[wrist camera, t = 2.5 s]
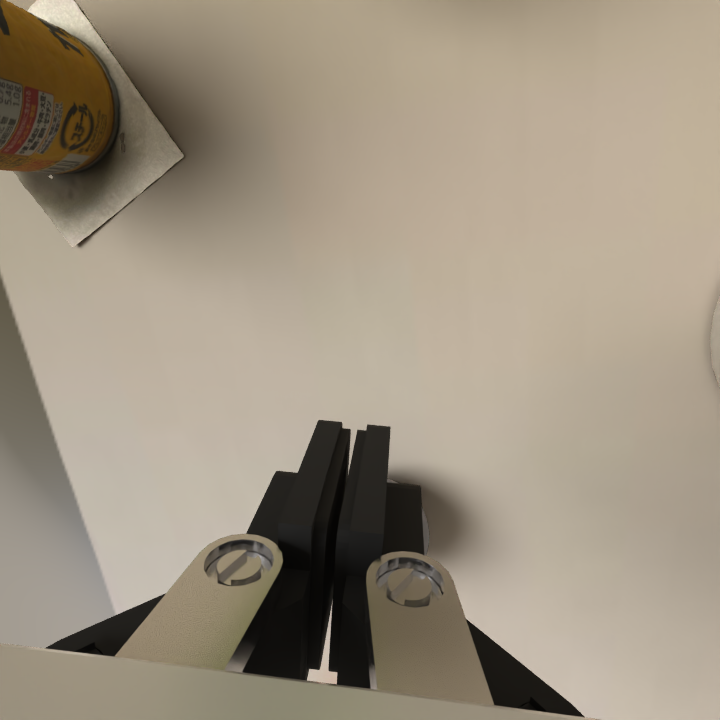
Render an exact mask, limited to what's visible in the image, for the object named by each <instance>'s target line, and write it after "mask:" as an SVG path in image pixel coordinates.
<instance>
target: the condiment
mask: <svg viewBox="0 0 720 720" xmlns="http://www.w3.org/2000/svg"><path fill="white" fill-rule="evenodd" d="M122 133H124V134H125V136H124V141H123V142H124V143H125V150H126V151H125V152H124V153H123V152H122V151H121V143H122V141H121V140H120V134H122ZM183 157H184V155H183V154H182V152H181V151H180V150H179V148H178V147H177V145H176V144H175V143H174V142H173V140H172V139H171V137H170V136H169V134H168V133H167V131H166V130H165V128H164V127H163V126H162V124H161V123H160V122H159V121H158V119H157V118H156V117H155V115H154V114H153V112H152V111H151V109H150V108H149V106H148V105H147V103H146V102H145V101H144V99H143V98H142V97H141V95H140V94H139V92H138V91H137V89H136V88H135V86H134V85H133V84H132V82H131V81H130V79H129V78H128V76H127V75H126V73H125V72H124V70H123V69H122V67H121V66H120V64H119V63H118V62H117V60H116V59H115V57H114V56H113V55H112V53H111V52H110V50H109V49H108V48H107V46H106V45H105V44H104V42H103V41H102V39H101V38H100V36H99V35H98V34H97V32H96V31H95V29H94V28H93V26H92V25H91V24H90V22H89V21H88V19H87V18H86V17H85V15H84V14H83V13H82V12H81V10H80V9H79V7H78V5H77V4H76V3H75V1H74V0H37V1H36V2H35V3H34V4H33V5H31V7H30V8H29V10H28V11H25V10H24V9H23V8H19V7H17V6H15V5H14V4H12V3H10V2H7V1H6V0H0V170H7V171H13V172H14V173H15V174H16V175H17V176H18V178H19V180H20V181H21V183H22V184H23V186H24V187H25V188H26V189H27V190H28V191H29V192H30V194H31V195H32V196H33V197H34V199H35V200H36V202H37V203H38V204H39V205H40V206H41V207H42V208H43V210H44V211H45V212H46V214H47V215H48V216H49V217H50V219H51V220H52V222H53V223H54V225H55V226H56V228H57V229H58V231H59V232H60V233H61V234H62V235H63V236H64V238H65V239H66V240H67V241H68V243H69V244H70V245H71V247H72V248H73V247H74V246H76V245H77V244H78V243H79V242H81V241H82V240H83V239H84V238H86V237H87V236H89V235H90V234H91V233H92V232H93V231H95V230H96V229H97V228H99V227H100V226H101V225H102V224H103V223H105V222H106V221H107V220H108V219H110V218H111V217H112V216H114V215H115V214H116V213H117V212H118V211H120V210H121V209H122V208H123V207H124V206H126V205H127V204H128V203H129V202H130V201H132V200H133V199H134V198H136V197H137V196H138V195H140V194H141V192H143V191H144V190H145V189H146V188H147V187H148V186H149V185H150V184H152V183H153V182H154V181H155V180H157V179H158V178H159V177H161V176H162V175H163V174H164V173H165V172H166V171H167V170H168V169H170V168H171V167H172V166H173V165H174V164H176V163H177V162H178V161H179V160H180V159H182V158H183ZM50 174H51V175H52V176H53V179H51V178H49V177H48V176H49V175H50Z"/></svg>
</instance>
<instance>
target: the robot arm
mask: <svg viewBox="0 0 720 720" xmlns="http://www.w3.org/2000/svg"><path fill="white" fill-rule="evenodd" d="M710 349H711V360H712V367H713V370H714V373H715V377H716V380H717V383H718V386H719V388H720V297H719V300H718V303H717V306H716V308H715V311H714V314H713V321H712V328H711V336H710ZM350 434H351V430H350V429H343V428H342V422H335V421H324V420H319V421H318V423H317V425H316V428H315V430H314V433H313V435H312V438H311V441H310V443H309V446H308V448H307V451H306V453H305V456H304V458H303V461H302V464H301V466H300V469H299V471H298V473H293V472H283V471H276V473H275V474H274V476H273V478H272V480H271V482H270V485H269V487H268V489H267V491H266V493H265V495H264V497H263V499H262V501H261V504H260V506H259V508H258V510H257V512H256V514H255V516H254V518H253V520H252V523H251V525H250V527H249V529H248V531H247V533H246V534H238V535H230V536H227V537H224V538H220V539H218V540H216V541H214V542H213V543H211V544H209V545H208V546H207V547H205V548H204V549H203V550H202V551H201V552H200V553H199V554H198V555H197V557H196V558H195V559H194V560H193V562H192V563H191V564H190V565H189V566H188V568H187V569H186V570H185V571H184V572H183V574H182V575H181V576H180V577H179V579H178V580H177V581H176V582H175V583H174V585H173V586H172V587H171V588H170V589H169V591H168V592H167V593H166V594H163V595H161V596H159V597H157V598H154V599H152V600H150V601H147V602H145V603H143V604H141V605H138V606H136V607H134V608H132V609H129V610H127V611H125V612H122V613H120V614H118V615H116V616H113V617H111V618H109V619H106V620H104V621H102V622H100V623H97V624H95V625H93V626H91V627H88V628H86V629H84V630H81V631H79V632H77V633H75V634H72V635H70V636H68V637H66V638H64V639H61V640H59V641H57V642H55V643H54V644H52V645H50V646H48V647H46V648H37V647H29V646H20V645H13V644H4V643H0V720H600V719H593V718H585V717H584V716H583V715H582V714H581V713H580V712H579V711H578V710H577V709H576V708H575V707H574V706H573V705H572V704H571V703H570V702H568V701H567V700H566V699H565V698H563V697H562V696H561V695H560V694H559V693H557V692H556V691H555V690H554V689H552V688H551V687H550V686H549V685H547V684H546V683H545V682H544V681H542V680H541V679H540V678H539V677H537V676H536V675H535V674H534V673H532V672H531V671H530V670H529V669H528V668H526V667H525V666H524V665H523V664H521V663H520V662H519V661H518V660H516V659H515V658H514V657H513V656H511V655H510V654H509V653H508V652H506V651H505V650H504V649H503V648H501V647H500V646H499V645H498V644H497V643H495V642H494V641H493V640H492V639H490V638H489V637H488V636H487V635H485V634H484V633H483V632H482V631H480V630H479V629H478V628H477V627H475V626H474V625H473V624H472V623H470V622H469V621H468V620H467V619H466V618H465V615H464V612H463V609H462V606H461V603H460V600H459V597H458V594H457V591H456V588H455V585H454V582H453V580H452V578H451V576H450V574H449V572H448V571H447V570H446V569H445V568H444V567H443V566H442V565H441V564H440V563H439V562H437V561H435V560H433V559H432V558H430V557H428V556H425V555H424V539H423V521H422V503H421V487H420V485H410V484H401V483H391V482H387V474H388V458H389V442H390V427H387V426H377V425H367V430H366V431H364V430H357V435H356V440H355V445H354V450H353V455H352V460H351V464H350V469H349V474H348V465H349V450H350ZM332 600H333V604H332ZM331 605H332V620H331V637H330V654H329V671H332V672H338V675H337V684H329V683H321V682H313V681H307V677H308V672H309V669H316V670H319V669H320V666H321V661H322V655H323V649H324V644H325V638H326V633H327V627H328V622H329V616H330V611H331Z"/></svg>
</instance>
